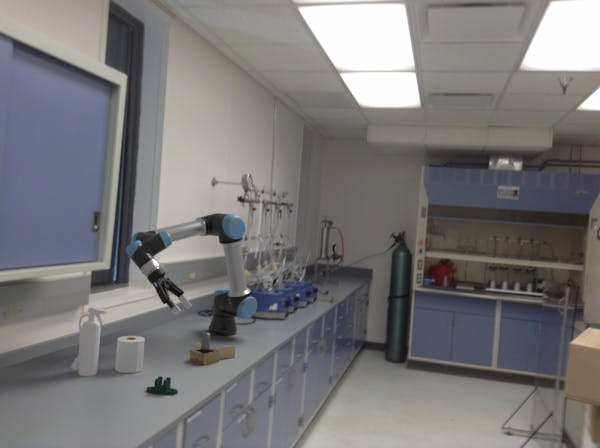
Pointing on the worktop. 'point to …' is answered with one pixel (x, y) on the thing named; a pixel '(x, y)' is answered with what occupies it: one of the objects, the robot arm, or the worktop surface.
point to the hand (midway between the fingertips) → (184, 310)
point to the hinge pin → (205, 342)
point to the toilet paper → (129, 354)
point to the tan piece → (210, 354)
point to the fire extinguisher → (89, 343)
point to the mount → (162, 387)
